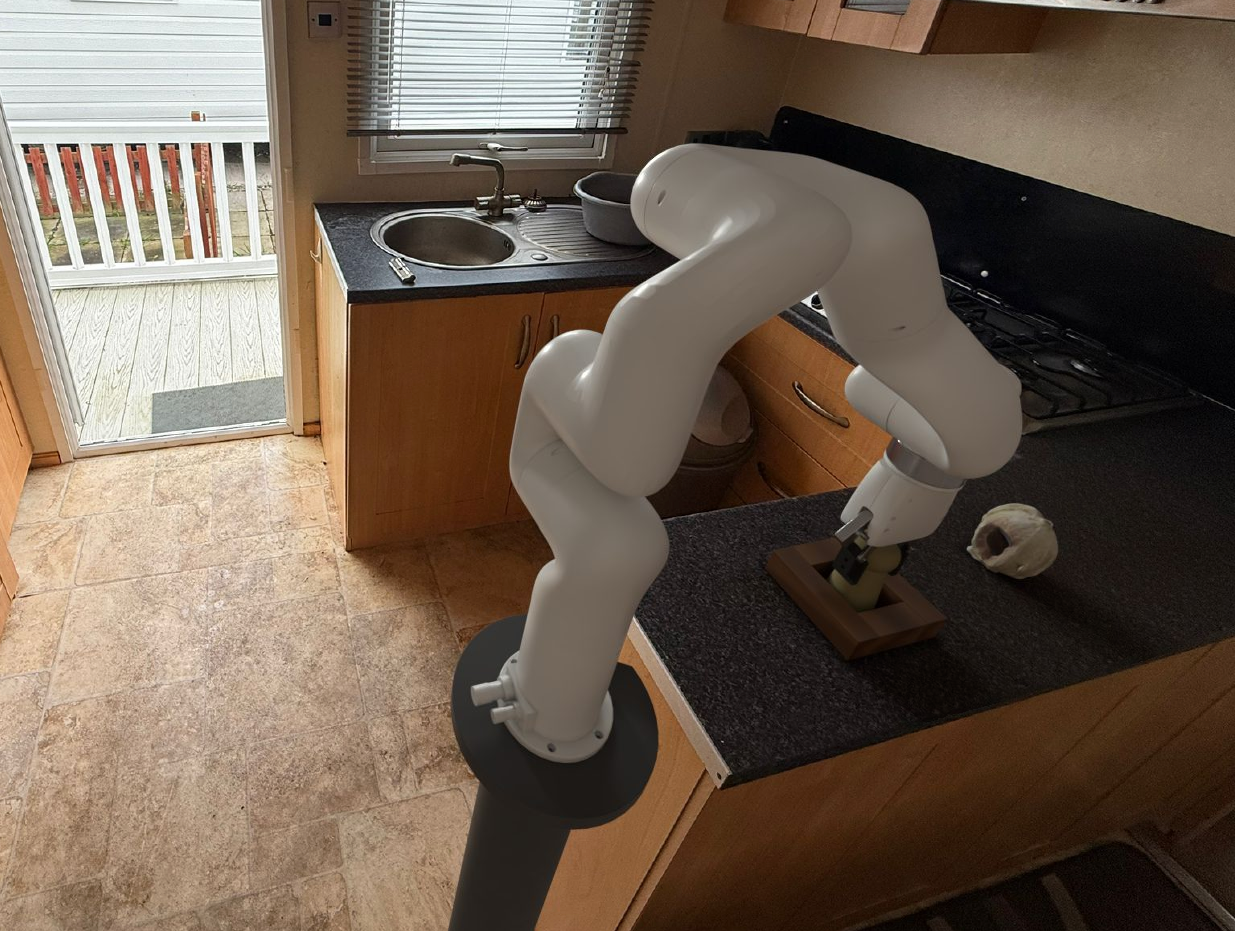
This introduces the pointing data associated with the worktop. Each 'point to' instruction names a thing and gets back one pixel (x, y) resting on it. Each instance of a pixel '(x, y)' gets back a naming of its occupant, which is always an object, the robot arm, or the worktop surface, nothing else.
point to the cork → (867, 577)
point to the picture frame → (846, 629)
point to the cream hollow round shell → (1015, 541)
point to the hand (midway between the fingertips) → (863, 570)
